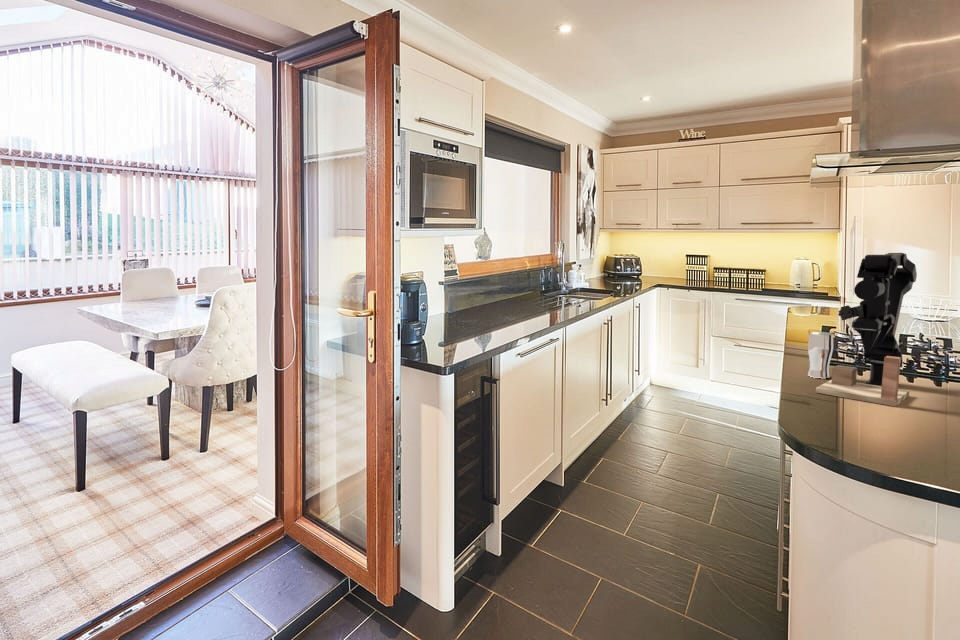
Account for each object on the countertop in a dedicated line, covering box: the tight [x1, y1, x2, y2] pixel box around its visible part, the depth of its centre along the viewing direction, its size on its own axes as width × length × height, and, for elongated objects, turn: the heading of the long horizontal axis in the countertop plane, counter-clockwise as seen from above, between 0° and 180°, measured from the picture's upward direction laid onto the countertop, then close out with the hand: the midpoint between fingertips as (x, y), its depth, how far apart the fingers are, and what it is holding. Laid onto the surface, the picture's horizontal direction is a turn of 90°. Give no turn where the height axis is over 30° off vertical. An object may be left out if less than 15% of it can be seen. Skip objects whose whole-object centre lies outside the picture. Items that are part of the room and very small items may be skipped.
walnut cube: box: [831, 364, 858, 387], centre depth 154 cm, size 5×5×5 cm
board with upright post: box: [815, 356, 910, 407], centre depth 147 cm, size 15×19×13 cm
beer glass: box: [807, 331, 834, 380], centre depth 168 cm, size 7×7×15 cm
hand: (871, 349), depth 149 cm, fingers open, 9 cm apart
